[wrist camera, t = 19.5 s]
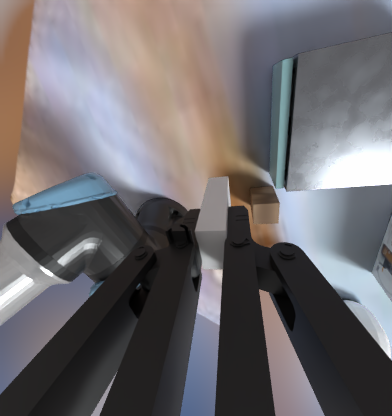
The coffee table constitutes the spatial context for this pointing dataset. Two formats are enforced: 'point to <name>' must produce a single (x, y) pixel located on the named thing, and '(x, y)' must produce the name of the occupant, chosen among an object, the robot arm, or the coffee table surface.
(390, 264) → the skincare box
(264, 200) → the walnut block
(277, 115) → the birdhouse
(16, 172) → the coffee table surface
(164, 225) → the robot arm
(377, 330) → the cup
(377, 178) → the player housing
